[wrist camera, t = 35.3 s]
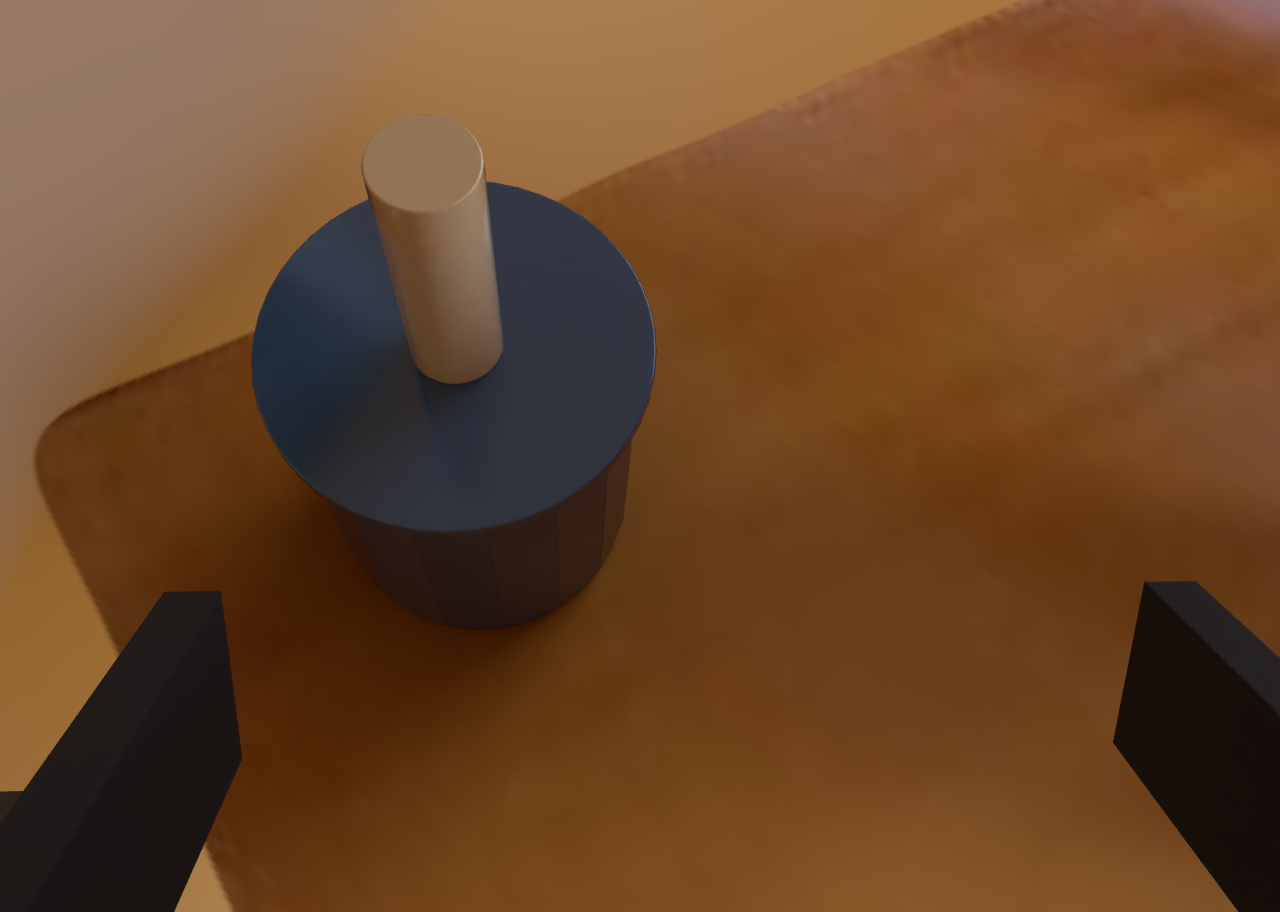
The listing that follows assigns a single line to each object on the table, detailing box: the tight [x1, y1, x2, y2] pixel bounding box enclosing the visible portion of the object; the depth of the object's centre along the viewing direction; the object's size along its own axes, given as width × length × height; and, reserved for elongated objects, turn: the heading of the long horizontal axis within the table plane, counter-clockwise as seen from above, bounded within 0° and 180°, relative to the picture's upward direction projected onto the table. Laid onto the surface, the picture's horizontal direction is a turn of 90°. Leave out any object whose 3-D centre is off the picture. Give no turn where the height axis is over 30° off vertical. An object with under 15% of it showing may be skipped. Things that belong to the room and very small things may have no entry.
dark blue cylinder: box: [325, 440, 632, 630], centre depth 43 cm, size 12×12×12 cm
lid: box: [251, 115, 657, 538], centre depth 33 cm, size 13×13×10 cm
